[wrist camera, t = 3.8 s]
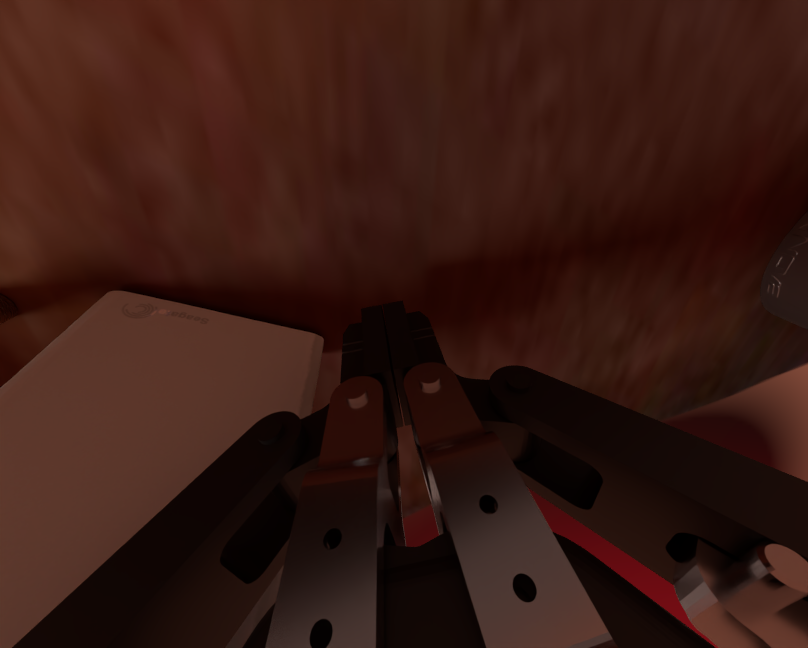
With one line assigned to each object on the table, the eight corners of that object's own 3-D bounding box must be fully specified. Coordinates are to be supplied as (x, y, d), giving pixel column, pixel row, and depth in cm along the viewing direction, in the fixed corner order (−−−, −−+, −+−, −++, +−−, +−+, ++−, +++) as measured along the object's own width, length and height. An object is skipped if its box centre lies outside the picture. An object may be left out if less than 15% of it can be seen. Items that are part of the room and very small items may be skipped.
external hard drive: (105, 284, 11) (-1170, 1381, 2) (326, 334, 14) (225, 918, 4) (114, 315, 12) (-702, 1141, 3) (319, 356, 15) (223, 873, 5)
